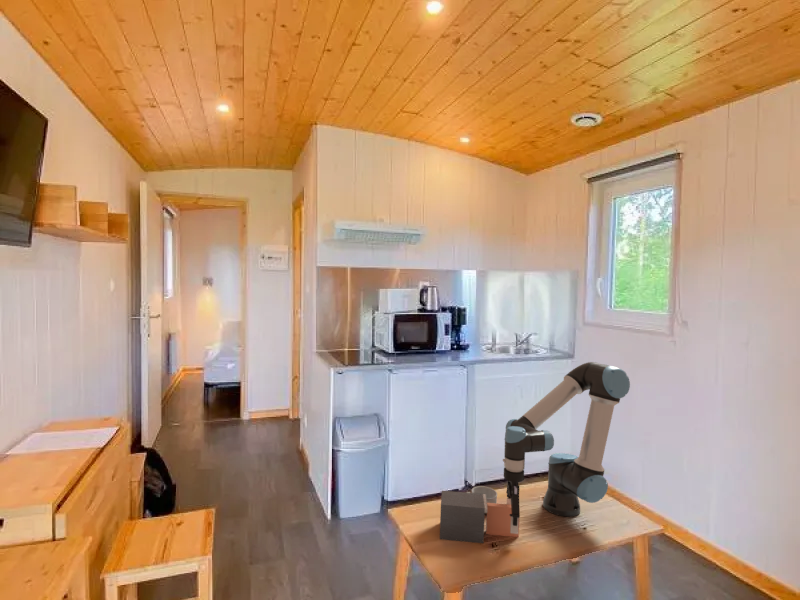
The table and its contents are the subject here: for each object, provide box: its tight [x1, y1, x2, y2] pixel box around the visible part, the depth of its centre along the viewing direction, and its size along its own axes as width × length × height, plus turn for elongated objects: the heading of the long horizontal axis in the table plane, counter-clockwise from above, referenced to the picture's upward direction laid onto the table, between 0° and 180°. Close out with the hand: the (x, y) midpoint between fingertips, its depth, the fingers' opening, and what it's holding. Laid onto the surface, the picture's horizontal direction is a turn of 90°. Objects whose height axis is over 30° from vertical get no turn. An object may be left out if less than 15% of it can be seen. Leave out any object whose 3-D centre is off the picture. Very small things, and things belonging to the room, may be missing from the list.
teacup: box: [465, 485, 498, 514], centre depth 195 cm, size 14×11×8 cm
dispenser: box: [439, 490, 487, 544], centre depth 176 cm, size 17×12×13 cm
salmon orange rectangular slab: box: [485, 502, 521, 538], centre depth 177 cm, size 12×2×11 cm, turn 83°
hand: (511, 523), depth 176 cm, fingers open, 13 cm apart
